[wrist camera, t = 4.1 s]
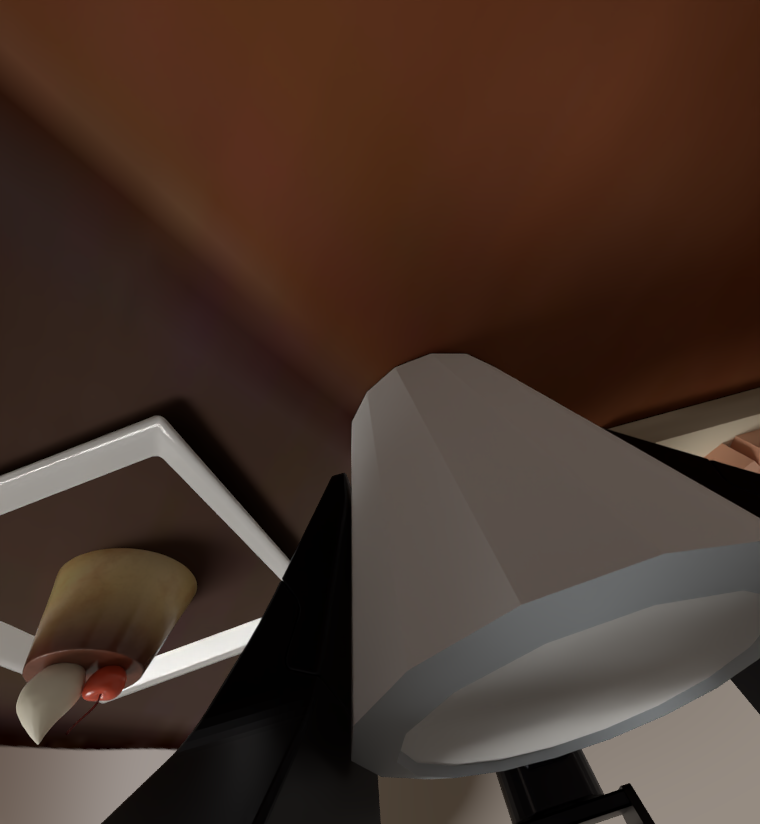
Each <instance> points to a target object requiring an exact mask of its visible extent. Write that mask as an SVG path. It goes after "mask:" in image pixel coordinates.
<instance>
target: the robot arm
mask: <svg viewBox="0 0 760 824" xmlns="http://www.w3.org/2000/svg"><path fill="white" fill-rule="evenodd" d="M601 428H602V427H601ZM603 429H604V430H606V431H608V432H610V433H611V434H613V435H615V436H617V437H618V438H620V439H622V440H624V441H625V442H627V443H629V444H631V445H632V446H634V447H636V448H638V449H639V450H641V451H643V452H645V453H646V454H648V455H650V456H652V457H653V458H655V459H657V460H659V461H660V462H662V463H664V464H666V465H667V466H669V467H671V468H673V469H674V470H676V471H678V472H680V473H681V474H683V475H685V476H687V477H688V478H690V479H692V480H694V481H695V482H697V483H699V484H701V485H703V486H704V487H706V488H708V489H710V490H711V491H713V492H715V493H717V494H718V495H720V496H722V497H724V498H725V499H727V500H729V501H731V502H732V503H734V504H736V505H738V506H739V507H741V508H743V509H745V510H746V511H748V512H750V513H752V514H753V515H755V516H757V517H759V518H760V474H759V473H755V472H752V471H748V470H745V469H741V468H738V467H734V466H731V465H727V464H724V463H721V462H717V461H714V460H710V461H709V460H708V459H707V458H704V457H700V456H697V455H693V454H690V453H687V452H683V451H680V450H676V449H673V448H670V447H666V446H663V445H660V444H656V443H653V442H649V441H646V440H643V439H639V438H636V437H632V436H629V435H626V434H622V433H619V432H616V431H612V430H609V429H605V428H603ZM282 580H283V581H281V582H280V583H279V585H278V587H277V589H276V592H275V594H274V596H273V598H272V599H271V601H270V603H269V605H268V607H267V609H266V611H265V613H264V615H263V617H262V619H261V620H260V622H259V624H258V626H257V627H256V629H255V631H254V633H253V634H252V636H251V638H250V639H249V641H248V643H247V645H246V646H245V648H244V650H243V651H242V653H241V655H240V656H239V658H238V660H237V661H236V663H235V664H234V666H233V668H232V669H231V671H230V673H229V674H228V676H227V678H226V679H225V681H224V683H223V684H222V686H221V688H220V689H219V691H218V693H217V694H216V696H215V698H214V699H213V701H212V703H211V704H210V706H209V708H208V709H207V711H206V712H205V714H204V715H203V717H202V719H201V720H200V722H199V723H198V724H197V726H196V727H195V729H194V730H193V731H192V733H191V734H190V735H189V736H188V738H187V739H186V740H185V742H184V743H183V744H182V745H181V746H180V747H179V749H178V750H177V751H176V752H175V753H174V754H173V755H172V756H171V757H170V758H169V759H168V760H167V761H166V762H165V763H164V764H163V765H162V766H161V767H160V768H159V769H158V770H157V771H156V772H155V773H154V774H153V775H151V777H149V778H148V779H147V780H146V781H145V782H144V783H143V784H142V785H141V786H140V787H139V788H138V789H137V790H136V791H135V792H134V793H133V794H132V795H131V796H130V797H128V798H127V799H126V800H125V801H124V802H123V803H122V804H121V805H120V806H119V807H118V808H117V809H116V810H115V811H114V812H113V813H112V814H111V815H110V816H109V817H108V818H107V819H106V820H104V822H102V823H101V824H381V823H380V807H379V790H378V775H377V774H375V773H373V772H371V771H370V770H368V769H366V768H364V767H362V766H360V765H358V764H356V763H355V762H353V761H351V486H350V483H349V480H348V477H347V475H346V474H345V473H341V474H338V475H334V476H332V477H331V479H330V481H329V483H328V485H327V487H326V489H325V492H324V494H323V496H322V498H321V500H320V502H319V504H318V506H317V508H316V510H315V512H314V514H313V516H312V518H311V520H310V522H309V524H308V526H307V528H306V530H305V532H304V534H303V537H302V539H301V541H300V543H299V545H298V547H297V549H296V551H295V553H294V555H293V557H292V559H291V561H290V563H289V565H288V567H287V569H286V571H285V573H284V575H283V577H282ZM731 680H732V682H733V683H734V684H735V685H736V686H737V688H738V689H739V690H740V691H741V692H742V694H743V695H744V696H745V697H746V698H747V700H748V701H749V702H750V703H751V704H752V706H753V707H754V708H755V709H756V710H757V712H758V713H759V714H760V658H759V659H758V660H757V661H755V662H754V663H752V664H751V665H749V666H748V667H747V668H745V669H744V670H742V671H741V672H739V673H738V674H736V675H735V676H734V677H732V678H731ZM496 774H497V777H498V781H499V784H500V787H501V790H502V793H503V796H504V799H505V802H506V805H507V808H508V812H509V815H510V818H511V821H512V824H595V823H598V822H601V821H604V820H607V819H610V818H613V817H616V816H619V815H623V817H624V819H625V821H626V823H627V824H655V823H654V821H653V820H652V818H651V817H650V815H649V813H648V812H647V810H646V808H645V807H644V805H643V804H642V802H641V800H640V799H639V797H638V795H637V794H636V792H635V790H634V789H633V787H632V786H631V784H630V783H628V784H625V785H623V786H620V788H619V789H618V790H617V791H614V792H611V793H608V794H605V795H604V793H603V791H602V789H601V787H600V785H599V783H598V781H597V779H596V777H595V775H594V773H593V771H592V769H591V767H590V765H589V763H588V761H587V759H586V757H585V755H584V753H583V751H582V749H580V750H577V751H574V752H571V753H568V754H565V755H562V756H559V757H556V758H553V759H549V760H545V761H541V762H537V763H533V764H529V765H525V766H521V767H517V768H513V769H509V770H505V771H500V772H496Z"/></svg>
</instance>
